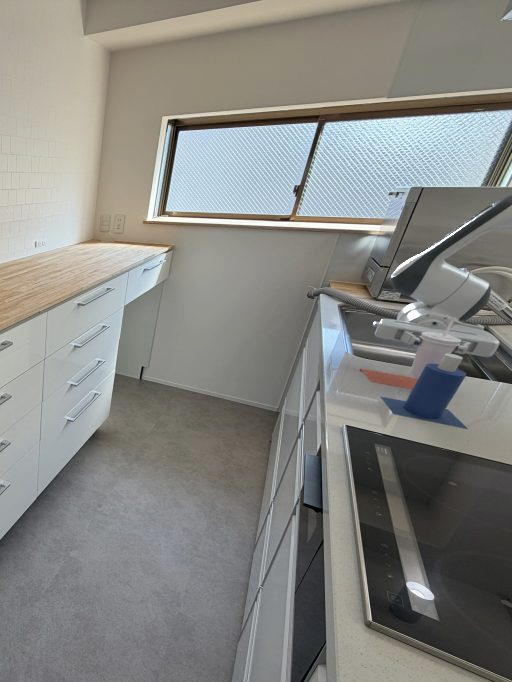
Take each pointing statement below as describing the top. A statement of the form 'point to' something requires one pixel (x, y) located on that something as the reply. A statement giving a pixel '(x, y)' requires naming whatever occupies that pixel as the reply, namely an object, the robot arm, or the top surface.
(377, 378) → the terracotta mat
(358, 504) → the top surface
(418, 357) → the smoothie
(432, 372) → the blue bottle
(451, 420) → the blue mat
